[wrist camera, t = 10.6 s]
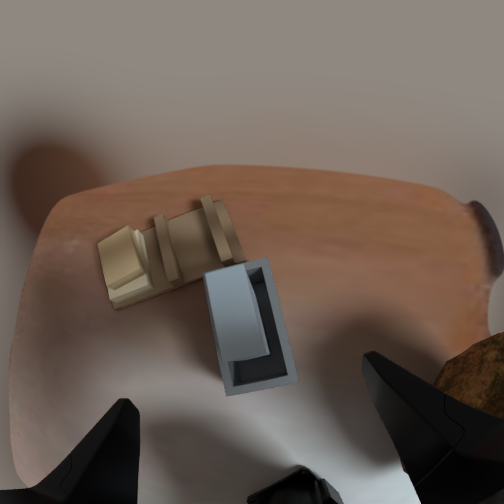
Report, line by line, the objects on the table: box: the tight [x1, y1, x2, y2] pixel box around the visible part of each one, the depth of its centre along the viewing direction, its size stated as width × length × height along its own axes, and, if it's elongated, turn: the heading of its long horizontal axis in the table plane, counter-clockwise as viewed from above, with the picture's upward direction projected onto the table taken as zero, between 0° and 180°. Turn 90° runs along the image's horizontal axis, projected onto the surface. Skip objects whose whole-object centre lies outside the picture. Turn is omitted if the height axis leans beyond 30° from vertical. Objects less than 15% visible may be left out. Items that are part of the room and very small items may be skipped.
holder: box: [202, 257, 299, 396], centre depth 20 cm, size 9×5×5 cm, turn 12°
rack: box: [98, 195, 247, 311], centre depth 24 cm, size 7×14×3 cm, turn 110°
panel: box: [205, 264, 271, 362], centre depth 17 cm, size 4×2×10 cm, turn 13°
